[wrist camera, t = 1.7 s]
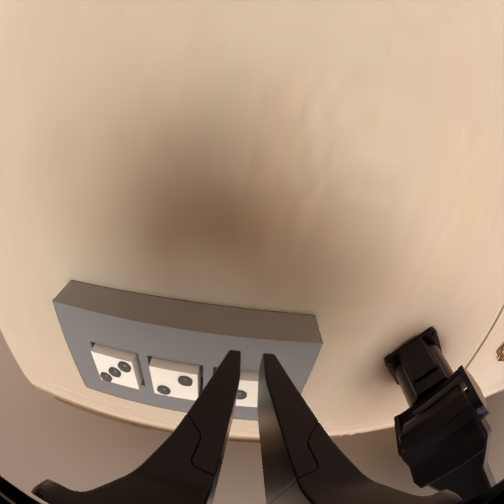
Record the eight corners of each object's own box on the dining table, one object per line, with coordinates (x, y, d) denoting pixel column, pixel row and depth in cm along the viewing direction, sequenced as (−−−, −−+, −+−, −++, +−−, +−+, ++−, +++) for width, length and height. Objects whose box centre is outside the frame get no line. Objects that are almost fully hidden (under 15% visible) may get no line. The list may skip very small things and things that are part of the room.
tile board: (315, 315, 22) (322, 343, 19) (285, 396, 27) (287, 421, 24) (71, 280, 21) (52, 300, 18) (96, 366, 26) (86, 387, 23)
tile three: (138, 347, 21) (131, 363, 19) (144, 375, 23) (138, 391, 21) (98, 337, 21) (89, 352, 19) (107, 366, 22) (100, 380, 21)
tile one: (266, 365, 22) (267, 384, 20) (259, 392, 23) (259, 409, 21) (218, 361, 21) (216, 379, 20) (216, 388, 23) (214, 405, 21)
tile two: (200, 358, 21) (197, 376, 19) (200, 385, 23) (197, 402, 21) (154, 350, 21) (148, 367, 19) (159, 378, 23) (154, 394, 21)
